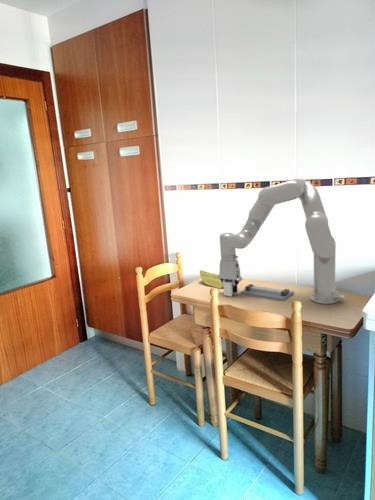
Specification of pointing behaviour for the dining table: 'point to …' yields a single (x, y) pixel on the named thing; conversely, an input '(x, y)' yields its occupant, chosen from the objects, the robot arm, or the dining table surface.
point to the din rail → (267, 290)
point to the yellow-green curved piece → (211, 279)
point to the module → (228, 288)
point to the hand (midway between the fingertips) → (230, 291)
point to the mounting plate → (267, 295)
